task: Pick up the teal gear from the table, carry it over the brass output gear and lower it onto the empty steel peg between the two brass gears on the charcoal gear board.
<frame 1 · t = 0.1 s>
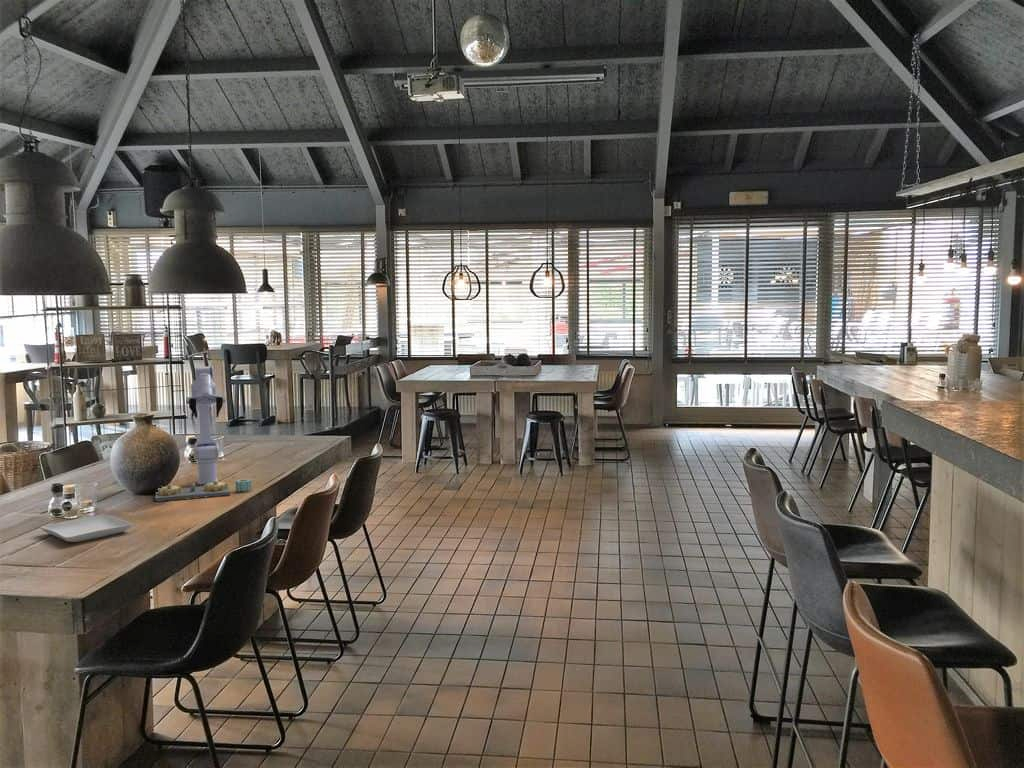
hand: (206, 415, 310), 32 cm above the table, tool tilted 50°, fingers open, 7 cm apart
teal gear: (243, 490, 325), on the table
salad plate: (87, 535, 265), on the table
gear board: (193, 494, 317), on the table
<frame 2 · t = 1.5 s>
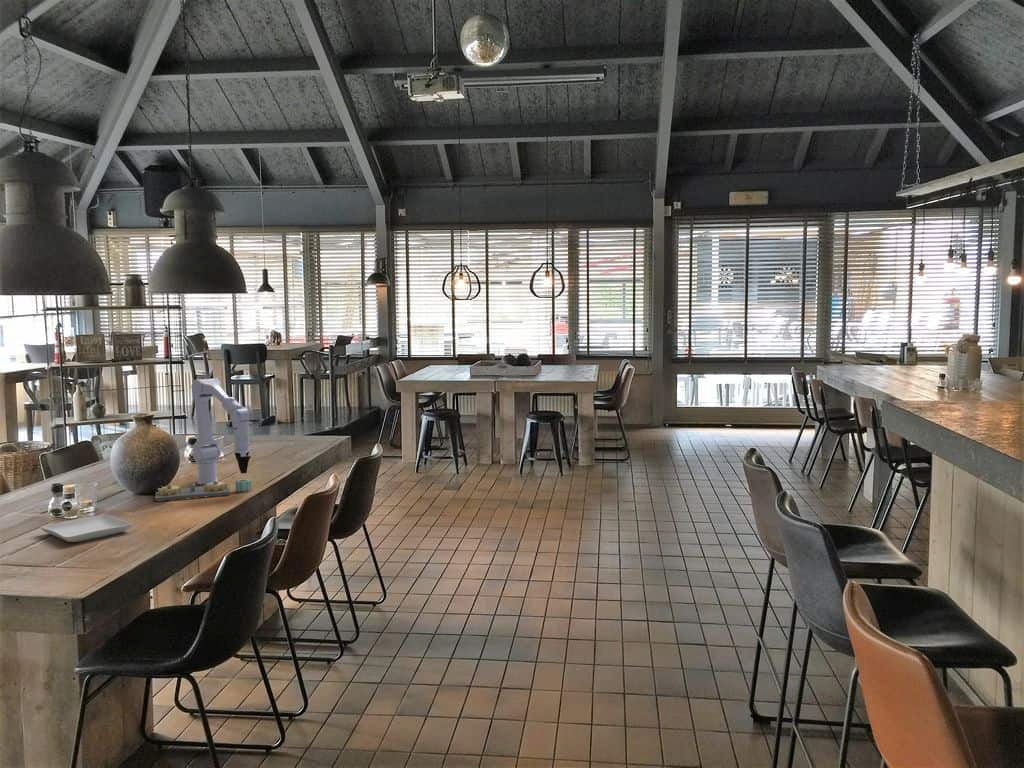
hand: (243, 471, 324), 8 cm above the table, tool pointing down, fingers open, 7 cm apart
nothing on the table moved.
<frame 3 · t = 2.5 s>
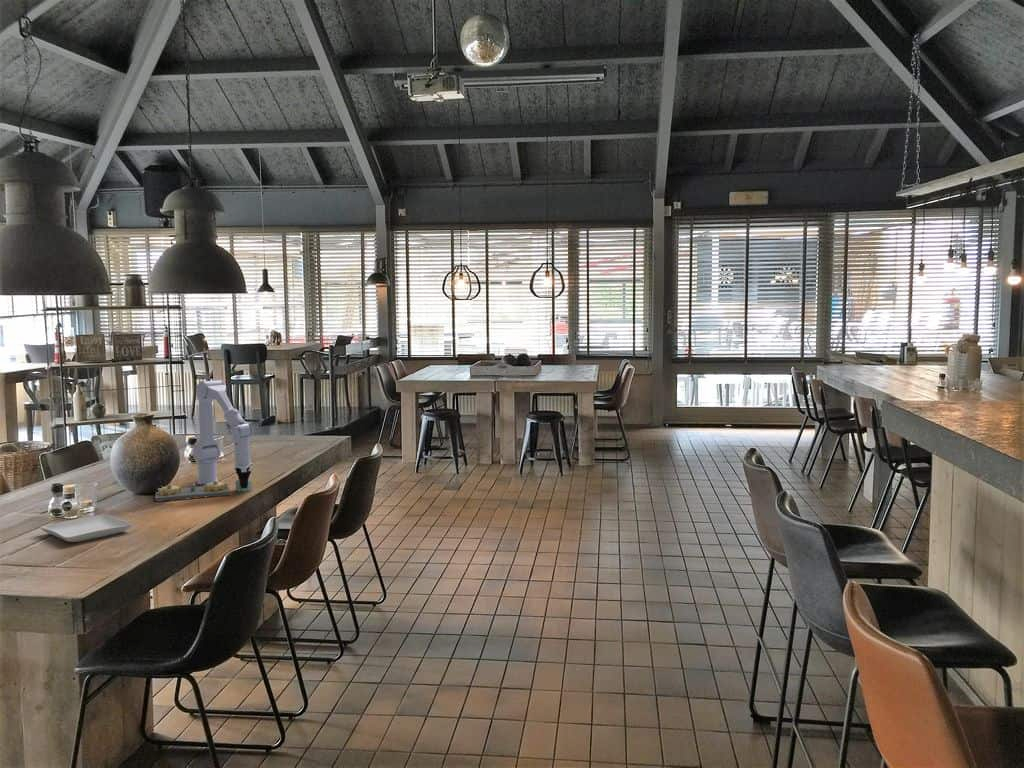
hand: (243, 486, 324), 2 cm above the table, tool pointing down, fingers closed on teal gear, 6 cm apart
teal gear: (243, 490, 325), on the table, touching gripper
everything else where it was.
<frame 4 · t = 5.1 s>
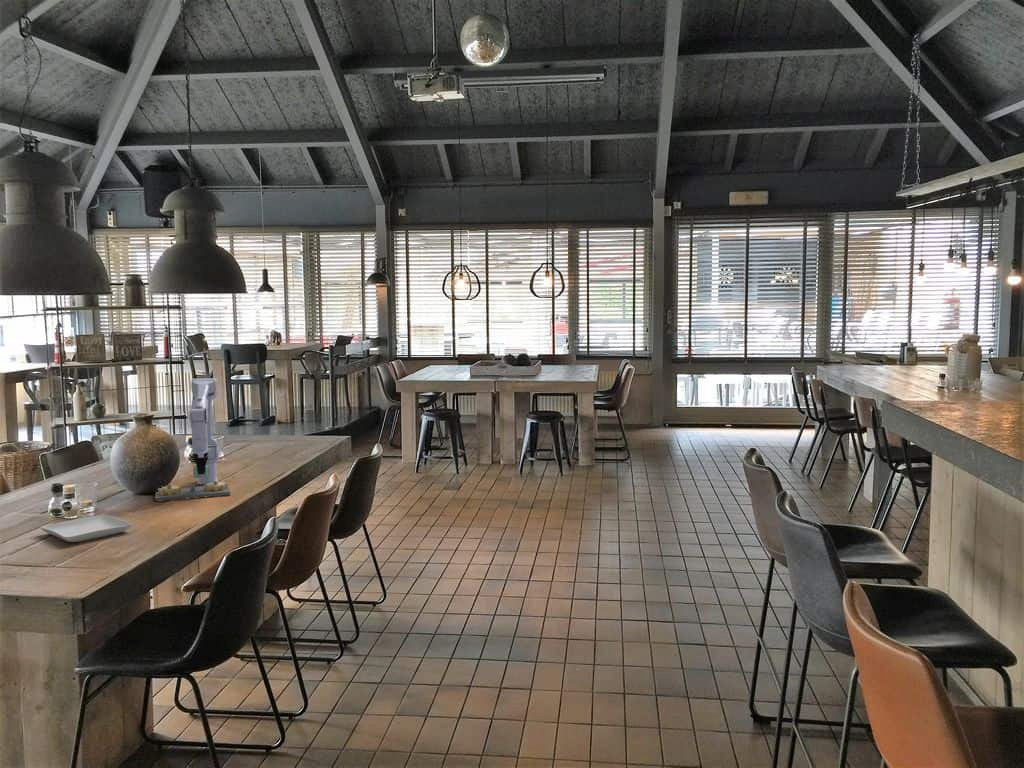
hand: (201, 472, 318), 9 cm above the table, tool pointing down, fingers closed on teal gear, 6 cm apart
teal gear: (201, 476, 318), point 7 cm above the table, touching gripper
everything else where it was.
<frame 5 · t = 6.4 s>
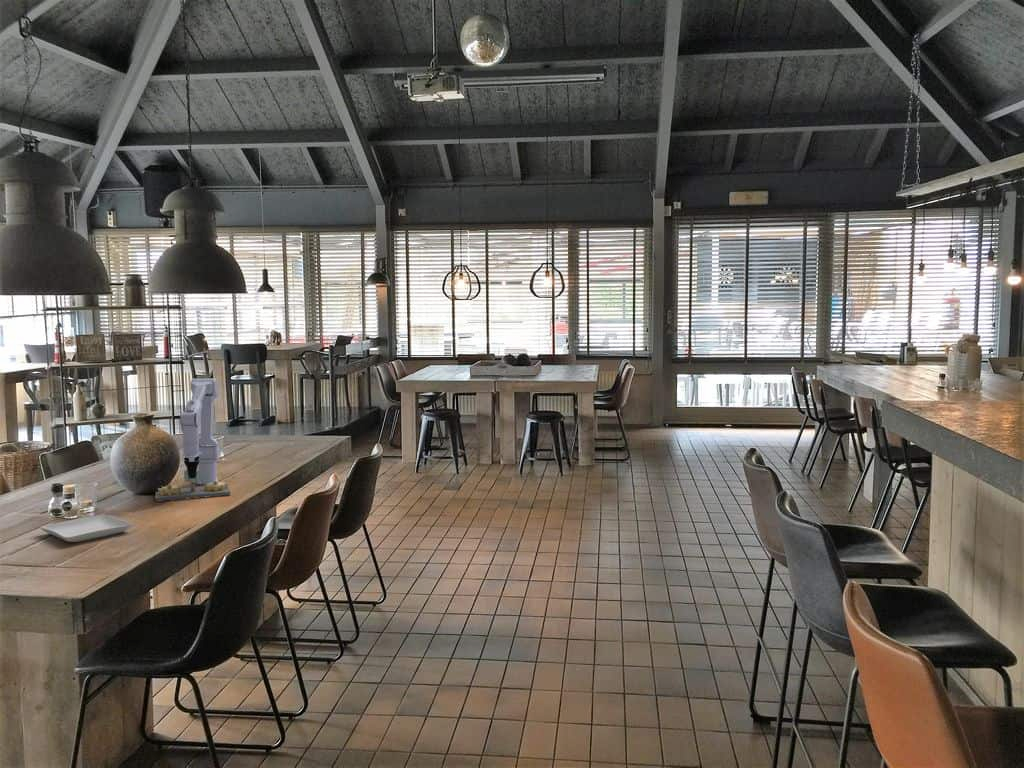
hand: (192, 476, 317), 7 cm above the table, tool pointing down, fingers closed on teal gear, 6 cm apart
teal gear: (192, 480, 317), point 6 cm above the table, touching gripper
everything else where it was.
when the fingers open (4 cm above the table, at t = 7.6 s): teal gear drops 1 cm, resting on gear board.
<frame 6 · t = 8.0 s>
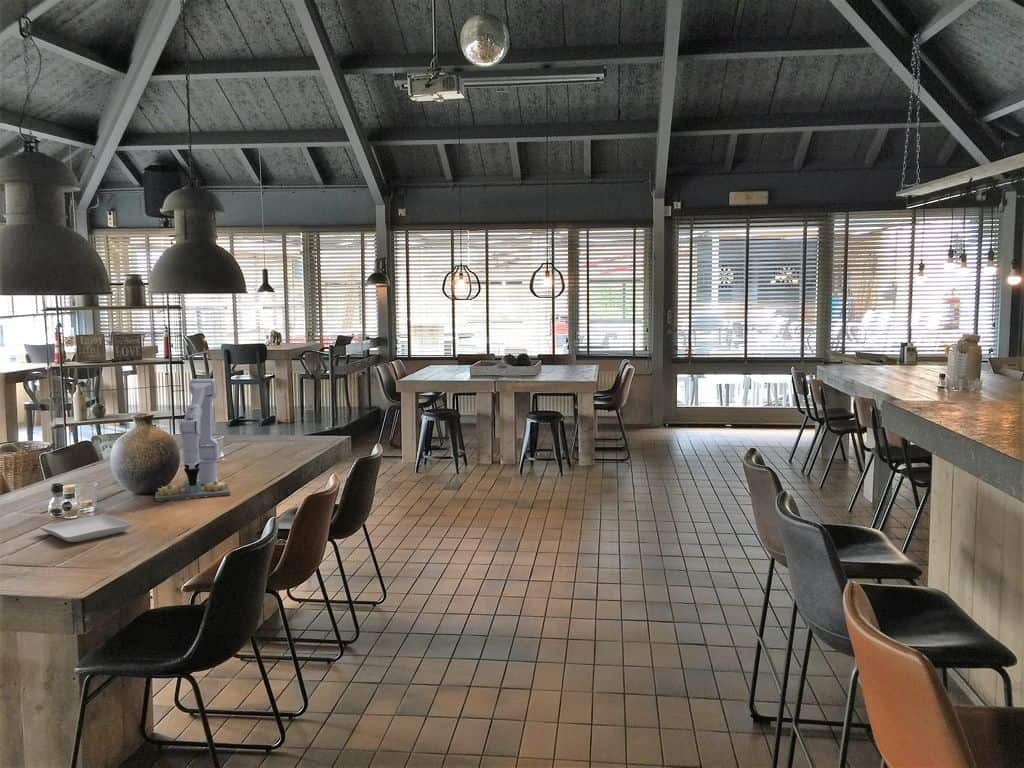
hand: (192, 483, 317), 4 cm above the table, tool pointing down, fingers open, 7 cm apart
teal gear: (192, 490, 317), point 1 cm above the table, touching gear board
everything else where it was.
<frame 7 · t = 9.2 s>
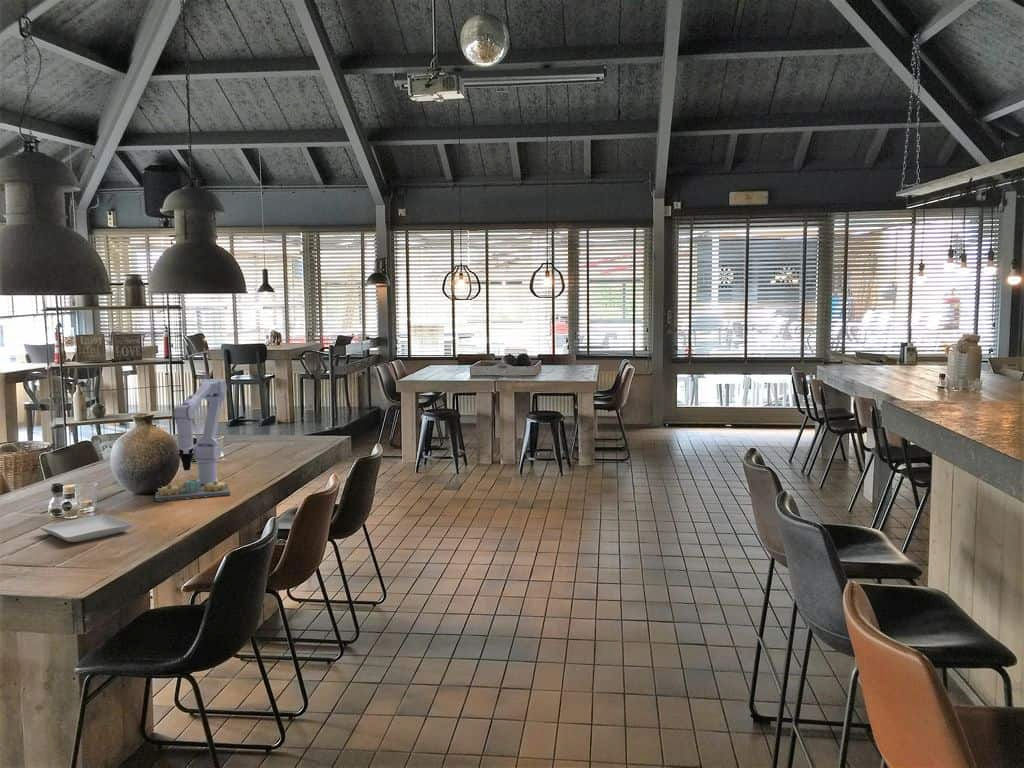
hand: (186, 468, 322), 9 cm above the table, tool pointing down, fingers open, 7 cm apart
nothing on the table moved.
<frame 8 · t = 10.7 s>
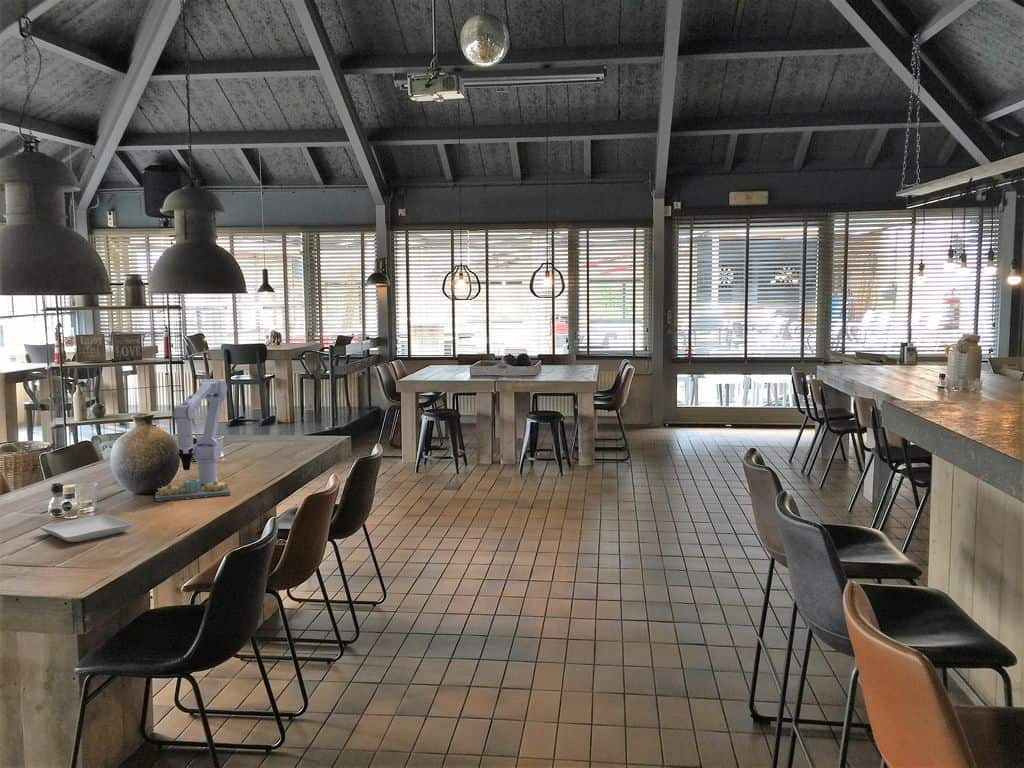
hand: (186, 468, 322), 9 cm above the table, tool pointing down, fingers open, 7 cm apart
nothing on the table moved.
at the end: teal gear 0.0 cm off-centre on the gear board, point 1.5 cm above the gear board's base; teal gear tilted 0°; the gripper is holding nothing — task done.
